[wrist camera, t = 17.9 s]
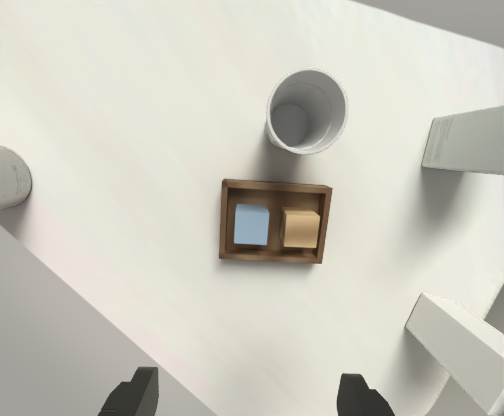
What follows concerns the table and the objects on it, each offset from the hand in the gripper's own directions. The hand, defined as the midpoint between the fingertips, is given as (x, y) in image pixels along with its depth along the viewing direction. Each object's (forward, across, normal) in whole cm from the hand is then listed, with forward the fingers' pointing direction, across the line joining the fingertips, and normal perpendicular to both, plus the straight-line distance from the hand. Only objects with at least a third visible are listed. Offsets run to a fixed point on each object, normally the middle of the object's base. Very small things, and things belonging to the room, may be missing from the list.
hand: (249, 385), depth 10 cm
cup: (+28, -5, -14) cm, 32 cm away
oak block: (+27, -8, 0) cm, 28 cm away
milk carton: (+28, -34, +16) cm, 47 cm away
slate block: (+27, -1, 0) cm, 27 cm away
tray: (+28, -4, 0) cm, 28 cm away
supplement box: (+28, -30, -13) cm, 43 cm away
